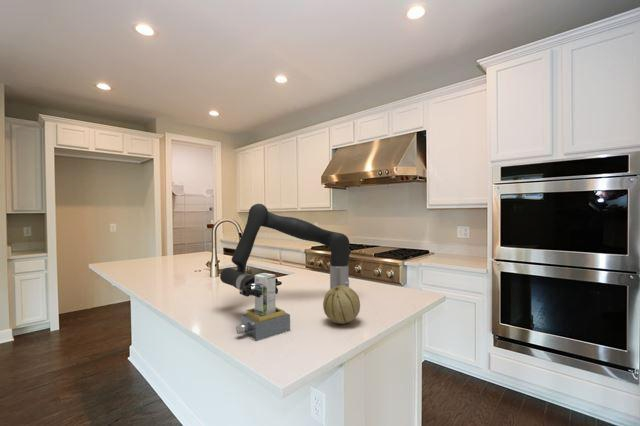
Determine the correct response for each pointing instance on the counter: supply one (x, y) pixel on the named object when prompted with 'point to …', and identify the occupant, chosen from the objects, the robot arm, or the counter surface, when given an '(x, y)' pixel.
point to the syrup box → (265, 294)
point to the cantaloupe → (341, 304)
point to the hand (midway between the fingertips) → (268, 292)
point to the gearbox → (263, 324)
